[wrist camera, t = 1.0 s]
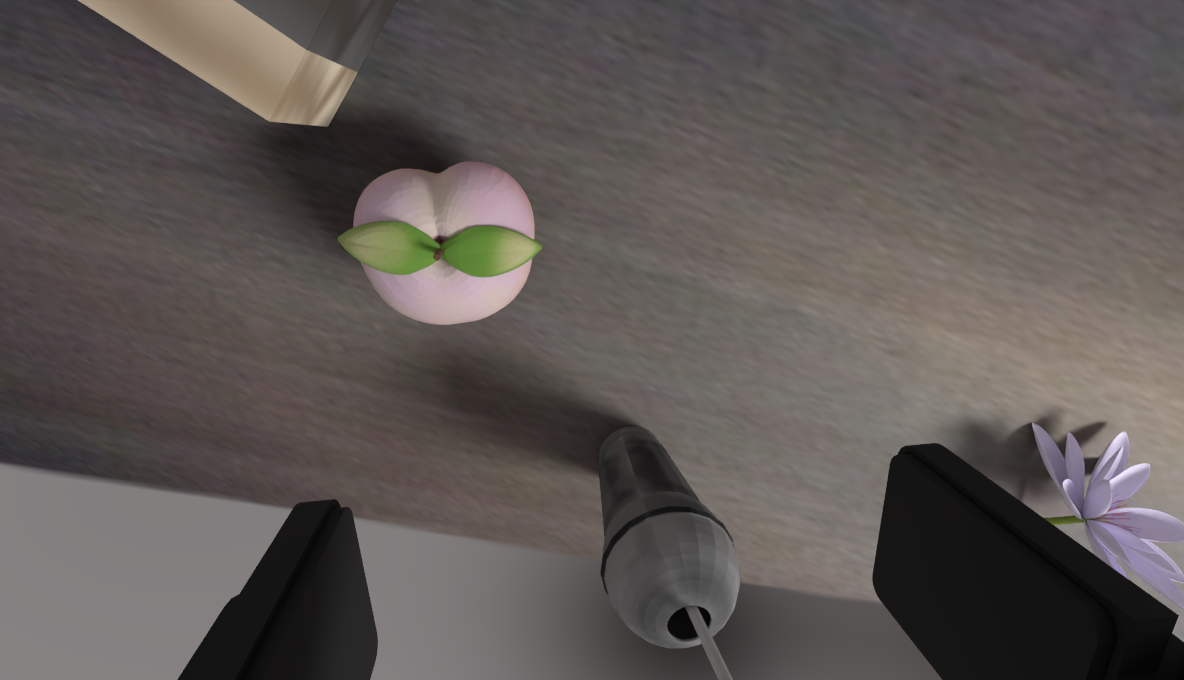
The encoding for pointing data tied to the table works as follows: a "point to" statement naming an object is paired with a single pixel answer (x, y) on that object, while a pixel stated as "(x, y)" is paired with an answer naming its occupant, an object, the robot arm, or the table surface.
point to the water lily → (1115, 511)
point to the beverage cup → (663, 548)
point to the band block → (261, 47)
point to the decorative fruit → (444, 241)
